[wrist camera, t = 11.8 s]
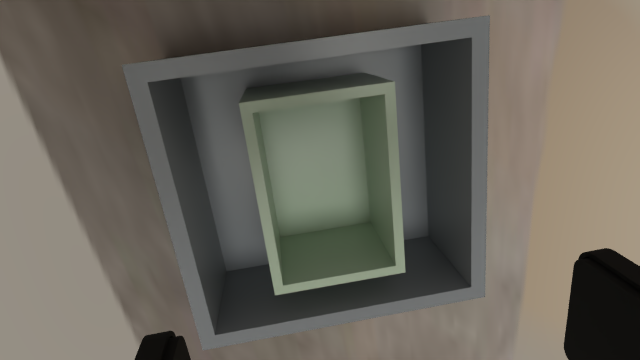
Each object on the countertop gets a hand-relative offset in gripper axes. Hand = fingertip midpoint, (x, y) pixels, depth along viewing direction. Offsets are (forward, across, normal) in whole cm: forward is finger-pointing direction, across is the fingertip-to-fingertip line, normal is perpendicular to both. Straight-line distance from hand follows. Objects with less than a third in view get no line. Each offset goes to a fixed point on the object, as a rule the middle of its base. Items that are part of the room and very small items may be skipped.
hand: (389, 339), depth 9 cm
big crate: (+17, 0, +1) cm, 17 cm away
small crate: (+16, 0, +1) cm, 16 cm away
